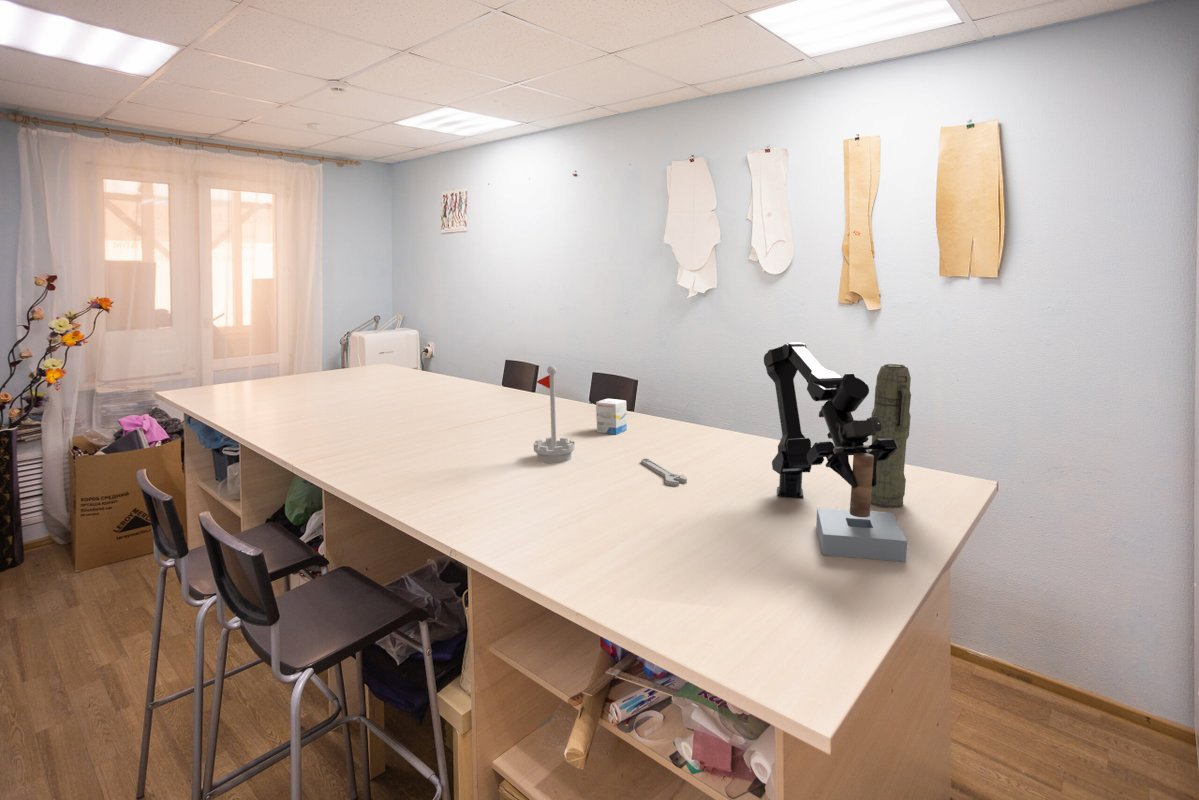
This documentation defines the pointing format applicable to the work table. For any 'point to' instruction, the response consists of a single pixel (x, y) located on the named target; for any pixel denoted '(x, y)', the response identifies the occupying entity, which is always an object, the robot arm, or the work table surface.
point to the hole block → (860, 535)
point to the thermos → (892, 433)
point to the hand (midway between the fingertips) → (865, 486)
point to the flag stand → (553, 430)
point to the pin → (862, 485)
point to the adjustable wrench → (665, 473)
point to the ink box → (611, 416)
